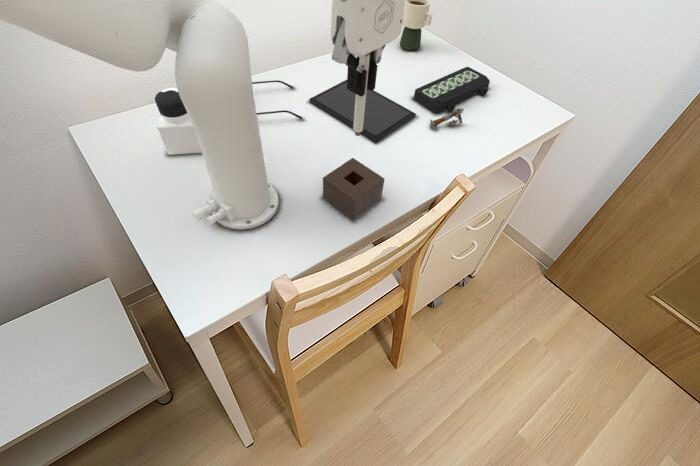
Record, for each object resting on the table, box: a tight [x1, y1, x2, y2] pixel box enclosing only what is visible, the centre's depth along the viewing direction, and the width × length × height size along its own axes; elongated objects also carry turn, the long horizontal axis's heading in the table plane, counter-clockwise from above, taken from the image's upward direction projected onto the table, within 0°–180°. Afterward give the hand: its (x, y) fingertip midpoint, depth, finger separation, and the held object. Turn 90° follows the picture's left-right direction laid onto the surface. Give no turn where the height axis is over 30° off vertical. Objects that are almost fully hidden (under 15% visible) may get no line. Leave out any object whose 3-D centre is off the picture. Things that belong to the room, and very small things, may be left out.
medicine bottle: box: [154, 87, 202, 156], centre depth 78 cm, size 7×7×12 cm
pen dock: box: [322, 157, 385, 221], centre depth 73 cm, size 8×8×6 cm
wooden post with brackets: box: [429, 107, 465, 130], centre depth 91 cm, size 2×8×4 cm, turn 105°
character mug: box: [399, 0, 433, 51], centre depth 111 cm, size 11×7×13 cm, turn 48°
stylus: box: [352, 53, 370, 137], centre depth 59 cm, size 2×2×14 cm
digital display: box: [413, 66, 491, 114], centre depth 100 cm, size 21×3×10 cm
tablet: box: [308, 79, 417, 144], centre depth 94 cm, size 15×22×1 cm
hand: (360, 88), depth 58 cm, fingers closed on stylus, 1 cm apart
